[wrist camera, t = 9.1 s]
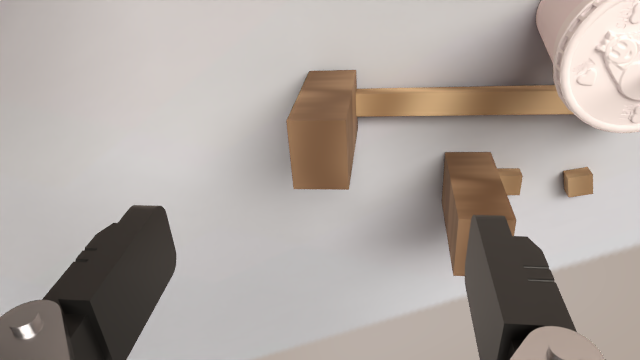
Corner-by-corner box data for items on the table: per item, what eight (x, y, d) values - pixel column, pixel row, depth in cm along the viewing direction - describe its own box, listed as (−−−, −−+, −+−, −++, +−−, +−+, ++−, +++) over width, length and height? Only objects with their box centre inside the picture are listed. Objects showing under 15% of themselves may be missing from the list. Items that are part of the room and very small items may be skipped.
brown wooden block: (441, 201, 36) (453, 275, 29) (445, 152, 34) (458, 219, 27) (583, 203, 34) (631, 281, 27) (596, 152, 32) (651, 222, 25)
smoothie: (578, 85, 30) (701, 212, 18) (488, 38, 29) (554, 138, 17) (658, -15, 27) (871, 60, 15) (559, -71, 26) (700, -39, 14)
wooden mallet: (313, 128, 34) (293, 188, 27) (300, -39, 28) (271, -17, 22) (621, 125, 31) (686, 192, 24) (669, -60, 26) (770, -42, 19)
